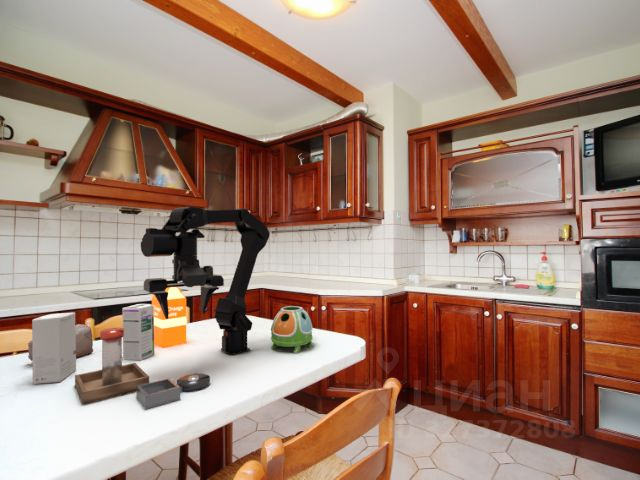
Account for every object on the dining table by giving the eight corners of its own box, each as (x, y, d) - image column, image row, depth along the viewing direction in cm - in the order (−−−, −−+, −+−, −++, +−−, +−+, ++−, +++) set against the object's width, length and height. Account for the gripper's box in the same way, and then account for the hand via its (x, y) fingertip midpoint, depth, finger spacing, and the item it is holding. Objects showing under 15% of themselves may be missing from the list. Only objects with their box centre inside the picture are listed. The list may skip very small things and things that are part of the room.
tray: (135, 373, 87) (135, 362, 87) (149, 388, 77) (149, 376, 77) (74, 386, 79) (75, 375, 79) (82, 405, 69) (82, 392, 69)
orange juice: (175, 338, 119) (175, 278, 119) (186, 343, 112) (186, 280, 113) (151, 342, 113) (151, 280, 113) (161, 348, 107) (161, 282, 107)
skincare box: (60, 382, 81) (60, 317, 81) (30, 385, 79) (30, 319, 80) (77, 370, 89) (77, 311, 89) (49, 372, 88) (49, 312, 88)
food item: (45, 369, 90) (45, 330, 90) (25, 365, 93) (25, 328, 93) (96, 353, 103) (95, 319, 103) (77, 350, 105) (77, 317, 105)
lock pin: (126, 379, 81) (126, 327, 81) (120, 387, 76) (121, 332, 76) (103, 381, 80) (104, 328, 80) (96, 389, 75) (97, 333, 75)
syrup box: (140, 361, 95) (140, 307, 96) (122, 359, 97) (121, 306, 97) (154, 354, 101) (154, 303, 101) (136, 353, 102) (136, 303, 102)
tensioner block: (202, 376, 84) (202, 366, 84) (218, 388, 77) (218, 376, 77) (133, 394, 74) (133, 382, 74) (145, 409, 67) (145, 396, 67)
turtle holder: (323, 339, 116) (323, 303, 116) (301, 355, 99) (301, 313, 99) (289, 336, 120) (289, 301, 121) (262, 351, 104) (262, 310, 104)
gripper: (156, 257, 79) (156, 327, 78) (233, 255, 91) (233, 316, 91) (142, 256, 87) (142, 319, 87) (214, 254, 99) (215, 310, 99)
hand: (185, 316), depth 91 cm, fingers open, 9 cm apart
